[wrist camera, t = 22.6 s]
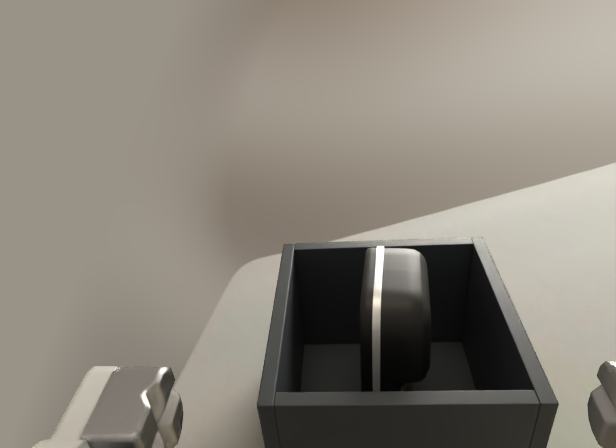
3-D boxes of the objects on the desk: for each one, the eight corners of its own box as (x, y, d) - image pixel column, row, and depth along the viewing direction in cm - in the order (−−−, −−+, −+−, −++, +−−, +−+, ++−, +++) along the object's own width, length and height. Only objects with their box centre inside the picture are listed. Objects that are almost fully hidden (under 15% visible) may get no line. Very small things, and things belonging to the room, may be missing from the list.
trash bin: (278, 519, 28) (256, 405, 23) (295, 344, 40) (283, 243, 35) (525, 522, 27) (559, 403, 22) (468, 341, 39) (482, 236, 34)
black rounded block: (425, 457, 30) (437, 314, 24) (362, 451, 30) (357, 310, 25) (421, 368, 36) (430, 235, 30) (368, 365, 36) (366, 234, 30)
